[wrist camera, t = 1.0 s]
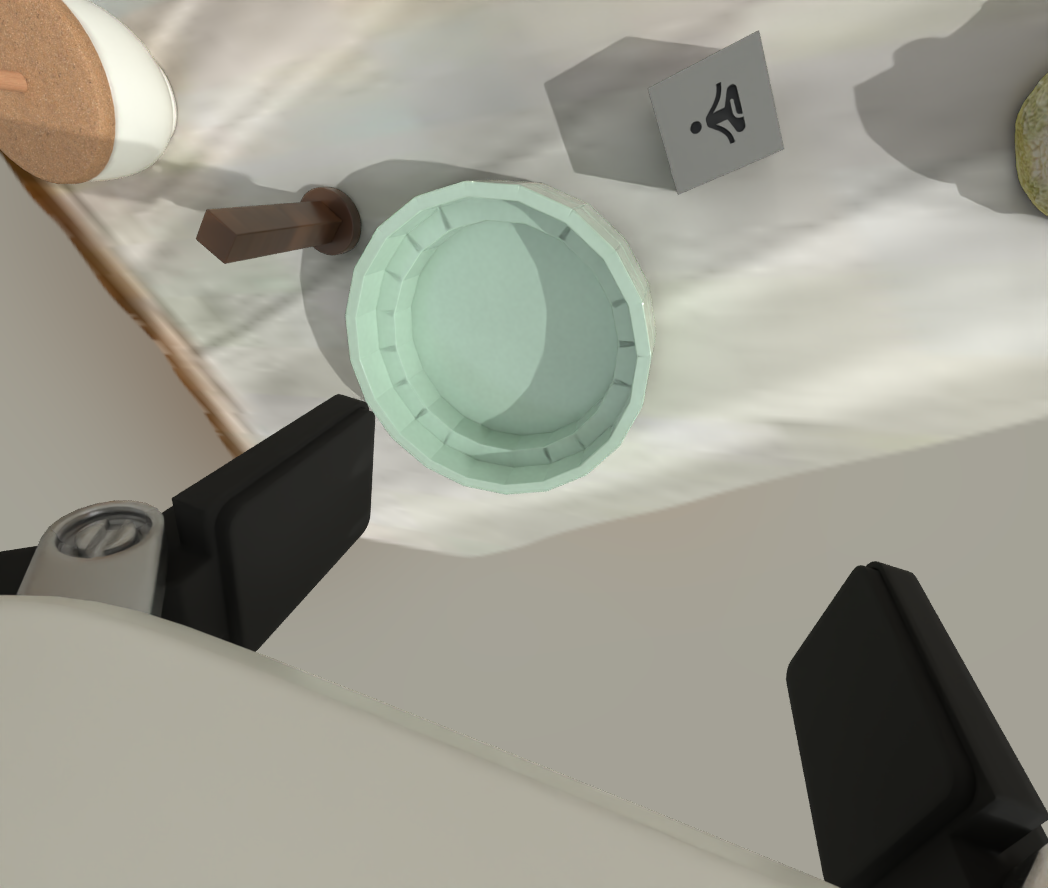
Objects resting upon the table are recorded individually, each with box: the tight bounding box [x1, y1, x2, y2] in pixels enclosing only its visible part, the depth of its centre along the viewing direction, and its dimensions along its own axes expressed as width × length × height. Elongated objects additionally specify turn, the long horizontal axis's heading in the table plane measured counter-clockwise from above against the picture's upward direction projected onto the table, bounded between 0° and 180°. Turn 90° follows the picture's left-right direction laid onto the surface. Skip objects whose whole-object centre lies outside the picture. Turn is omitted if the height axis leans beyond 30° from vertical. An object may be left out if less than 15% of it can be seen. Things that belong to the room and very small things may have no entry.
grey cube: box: [648, 30, 784, 195], centre depth 27 cm, size 5×5×5 cm
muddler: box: [196, 187, 361, 264], centre depth 33 cm, size 4×4×11 cm
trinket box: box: [0, 0, 177, 184], centre depth 33 cm, size 11×11×9 cm
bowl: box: [345, 180, 656, 494], centre depth 35 cm, size 20×20×6 cm
